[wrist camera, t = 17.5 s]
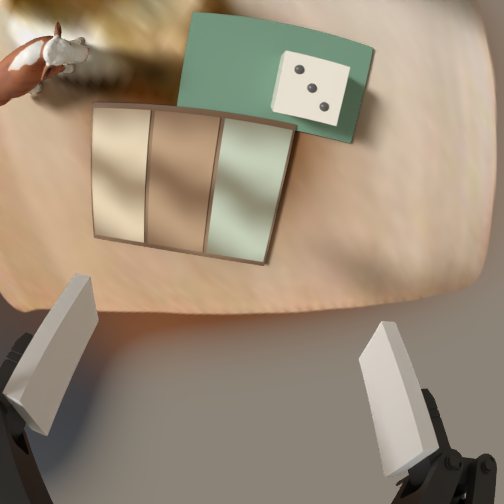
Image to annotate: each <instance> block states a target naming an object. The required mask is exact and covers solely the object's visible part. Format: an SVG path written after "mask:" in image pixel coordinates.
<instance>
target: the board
mask: <svg viewBox="0 0 504 504" xmlns="http://www.w3.org/2000/svg"><path fill="white" fill-rule="evenodd" d="M295 129H296V124H291V123H286V122H281V121H276V120H271V119H266V118H260V117H254V116H248V115H242V114H236V113H229V112H222V111H215V110H207V109H198V108H189V107H179V106H173V105H161V104H146V103H126V102H93V109H92V128H91V196H92V216H93V230H94V238H97V239H103V240H109V241H115V242H121V243H127V244H132V245H138V246H144V247H150V248H156V249H162V250H168V251H174V252H180V253H186V254H193V255H199V256H205V257H211V258H217V259H223V260H230V261H236V262H242V263H248V264H255V265H261V266H264V264H265V260H266V256H267V252H268V247H269V243H270V239H271V235H272V230H273V226H274V222H275V217H276V213H277V209H278V204H279V200H280V196H281V191H282V187H283V182H284V178H285V174H286V169H287V165H288V160H289V156H290V151H291V147H292V142H293V138H294V133H295Z"/></svg>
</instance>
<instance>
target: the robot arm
mask: <svg viewBox="0 0 504 504" xmlns="http://www.w3.org/2000/svg"><path fill="white" fill-rule="evenodd" d="M98 321H99V320H98V316H97V310H96V305H95V300H94V295H93V289H92V283H91V277H90V276H86V275H82V274H77V273H76V274H75V275H74V277H73V278H72V280H71V281H70V282H69V284H68V285H67V287H66V288H65V289H64V291H63V292H62V294H61V295H60V297H59V298H58V300H57V301H56V303H55V304H54V306H53V307H52V309H51V310H50V312H49V313H48V315H47V316H46V318H45V319H44V321H43V323H42V324H41V326H40V327H39V329H38V331H37V332H36V334H35V335H31V334H29V333H25V334H24V335H23V336H21V337H20V338H19V339H18V340H17V341H16V342H15V344H14V346H13V347H12V349H11V352H9V354H8V355H7V357H6V360H5V361H4V362H3V364H2V366H1V367H0V504H53V502H52V500H51V498H50V495H49V493H48V491H47V489H46V486H45V484H44V482H43V479H42V477H41V474H40V472H39V469H38V467H37V464H36V461H35V459H34V456H33V453H32V450H31V448H30V444H29V441H28V438H27V435H26V432H25V430H24V427H25V424H26V423H27V425H28V426H29V427H30V428H31V429H32V430H34V431H36V432H39V433H41V434H43V435H45V436H47V435H48V433H49V430H50V428H51V425H52V422H53V420H54V417H55V415H56V412H57V410H58V407H59V405H60V403H61V400H62V398H63V395H64V393H65V391H66V388H67V386H68V384H69V382H70V379H71V377H72V375H73V373H74V371H75V368H76V366H77V364H78V362H79V360H80V357H81V355H82V353H83V351H84V349H85V347H86V345H87V343H88V341H89V339H90V337H91V335H92V333H93V331H94V328H95V327H96V325H97V323H98ZM359 362H360V366H361V370H362V374H363V378H364V382H365V386H366V390H367V394H368V399H369V403H370V407H371V412H372V416H373V421H374V426H375V430H376V435H377V440H378V445H379V450H380V455H381V461H382V465H383V472H384V477H385V478H386V477H392V476H398V475H401V474H402V473H404V472H405V471H407V470H408V473H409V475H408V476H407V477H405V478H403V479H402V480H400V481H399V482H397V484H396V486H398V485H400V484H401V483H403V484H402V486H401V487H400V489H399V491H398V493H397V495H396V496H395V498H394V500H393V501H392V503H391V504H494V497H495V486H496V473H497V465H496V462H495V459H494V458H493V457H492V456H491V455H489V454H482V455H481V456H479V457H478V458H476V459H473V458H464V457H462V456H461V454H460V453H459V452H458V451H457V450H454V449H451V447H450V445H449V442H448V438H447V435H446V432H445V429H444V426H443V423H442V420H441V418H440V414H439V411H438V410H437V405H436V402H435V399H434V397H433V396H432V395H431V393H430V392H429V390H428V389H420V386H419V383H418V380H417V377H416V375H415V372H414V370H413V366H412V364H411V361H410V358H409V356H408V353H407V351H406V348H405V346H404V343H403V341H402V338H401V336H400V333H399V331H398V328H397V326H396V323H395V322H386V321H381V323H380V324H379V326H378V328H377V330H376V331H375V333H374V335H373V336H372V338H371V340H370V342H369V343H368V345H367V346H366V348H365V350H364V351H363V353H362V354H361V356H360V358H359ZM465 493H466V498H464V494H465Z"/></svg>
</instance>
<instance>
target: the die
mask: <svg viewBox="0 0 504 504" xmlns="http://www.w3.org/2000/svg"><path fill="white" fill-rule="evenodd" d="M349 70H350V67H348V66H345V65H342V64H338V63H335V62H331V61H328V60H324V59H320V58H316V57H312V56H308V55H304V54H300V53H295V52H291V51H285V52H284V53H283V54H282V55H281V59H280V64H279V69H278V73H277V78H276V83H275V88H274V93H273V98H272V103H271V108H272V110H273V112H277V113H282V114H287V115H292V116H296V117H301V118H305V119H310V120H314V121H318V122H322V123H326V124H330V125H334V126H336V125H337V121H338V117H339V113H340V109H341V105H342V101H343V96H344V92H345V88H346V84H347V79H348V75H349Z"/></svg>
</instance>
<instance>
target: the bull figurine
mask: <svg viewBox="0 0 504 504" xmlns="http://www.w3.org/2000/svg"><path fill="white" fill-rule="evenodd" d="M83 43H84V39H83V38H82V37H80V38H77V39H75V40H72V41H67V40H65V39H62V38H61V26H60V23H59V22H57V23H56V25H55V31H54V36H44V37H39V38H36V39H33V40H31V41H29V42H28V43H26V44H25V45H22V46H20V47H19V48H17V49H16V50H14V51H13V52H12V53H10V54H9V55H8V56H6V57H5V58H4V59H3V60H2V61H1V62H0V106H2V105H4V104H6V103H7V102H9V101H10V100H12V99H13V98H16V97H20V96H22V95H25V94H26V93H30V94H32V93H36V92H40V91H41V90H42V87H43V86H42V84H41V83H40V82H42V81H44V80H46V79H48V78H50V77H51V76H53V75H57V74H58V73H60V72H63V73H73V72H74V71H75V70H76V65H75V64H68V63H71V62H84V61H86V59H87V57H88V54H89V47H88V46H85V45H83ZM63 64H67V65H63Z"/></svg>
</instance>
